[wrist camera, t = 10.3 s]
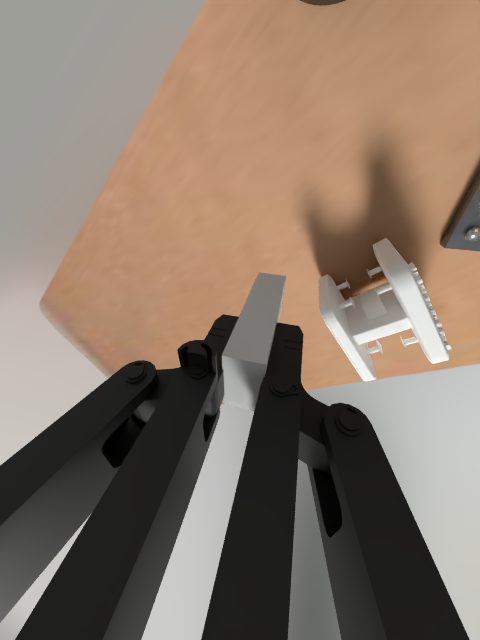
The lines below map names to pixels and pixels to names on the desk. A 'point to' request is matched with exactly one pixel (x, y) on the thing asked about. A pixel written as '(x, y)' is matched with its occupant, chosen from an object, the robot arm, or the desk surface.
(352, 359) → the cable organizer
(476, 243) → the flange
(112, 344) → the desk surface
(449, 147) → the desk surface
